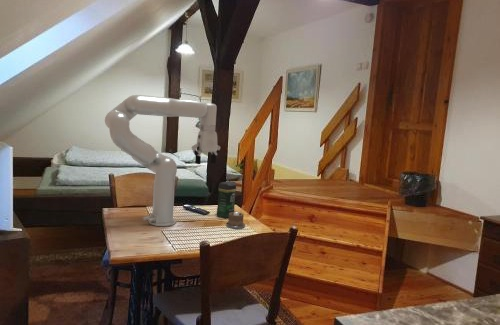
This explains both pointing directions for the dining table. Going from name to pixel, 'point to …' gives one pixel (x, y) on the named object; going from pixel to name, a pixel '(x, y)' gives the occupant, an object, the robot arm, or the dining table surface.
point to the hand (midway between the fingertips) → (205, 163)
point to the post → (235, 226)
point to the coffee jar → (226, 199)
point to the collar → (235, 219)
